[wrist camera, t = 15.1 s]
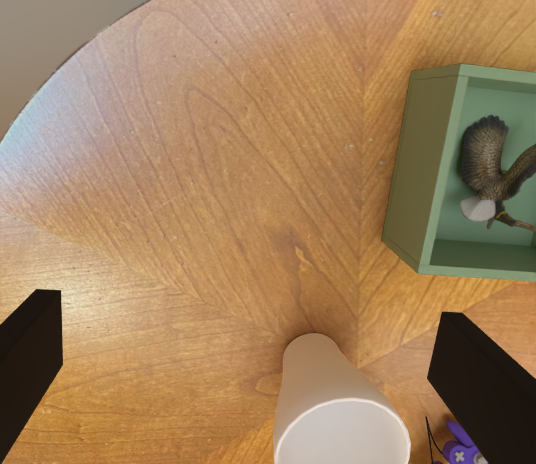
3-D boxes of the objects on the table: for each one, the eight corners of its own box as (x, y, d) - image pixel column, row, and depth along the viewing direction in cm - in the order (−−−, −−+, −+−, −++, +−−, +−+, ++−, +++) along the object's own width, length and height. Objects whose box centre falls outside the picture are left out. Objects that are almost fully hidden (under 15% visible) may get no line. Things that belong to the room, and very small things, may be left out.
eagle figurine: (537, 215, 42) (568, 119, 38) (537, 247, 37) (574, 138, 33) (452, 199, 45) (472, 108, 41) (440, 226, 40) (462, 124, 36)
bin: (410, 71, 39) (460, 63, 31) (574, 90, 41) (663, 87, 33) (381, 240, 44) (417, 274, 35) (530, 251, 45) (599, 285, 37)
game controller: (459, 408, 45) (529, 472, 46) (420, 387, 53) (480, 442, 54) (399, 490, 44) (472, 555, 44) (368, 456, 52) (430, 511, 52)
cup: (365, 391, 48) (415, 498, 35) (268, 409, 48) (284, 524, 35) (355, 304, 45) (407, 385, 32) (253, 322, 45) (263, 412, 32)
